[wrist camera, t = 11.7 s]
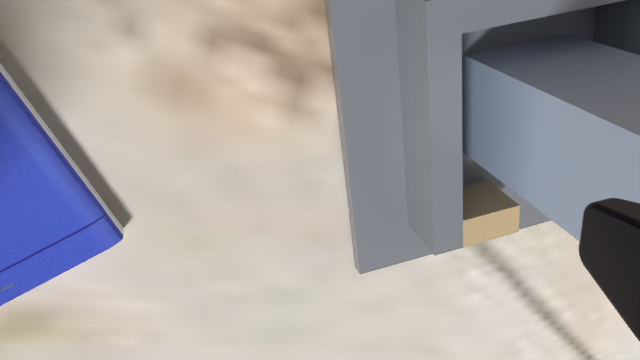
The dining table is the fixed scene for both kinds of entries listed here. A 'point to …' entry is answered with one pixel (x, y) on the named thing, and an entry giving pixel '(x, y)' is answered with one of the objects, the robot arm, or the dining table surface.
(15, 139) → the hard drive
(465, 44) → the chassis
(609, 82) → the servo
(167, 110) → the dining table surface
